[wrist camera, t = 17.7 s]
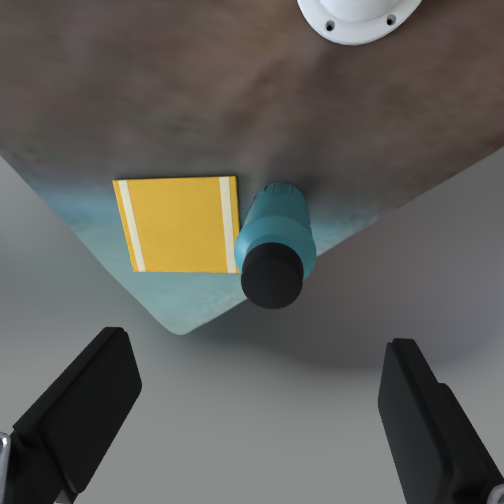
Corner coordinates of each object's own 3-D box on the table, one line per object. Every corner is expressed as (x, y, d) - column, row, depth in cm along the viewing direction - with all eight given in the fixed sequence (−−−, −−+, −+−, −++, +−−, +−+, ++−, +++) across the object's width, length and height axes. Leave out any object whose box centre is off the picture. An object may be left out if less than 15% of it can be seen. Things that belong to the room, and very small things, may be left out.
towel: (236, 175, 35) (235, 176, 34) (242, 271, 40) (242, 273, 40) (114, 179, 37) (112, 180, 37) (135, 269, 42) (133, 271, 42)
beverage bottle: (268, 168, 34) (241, 214, 16) (317, 193, 35) (346, 266, 16) (245, 215, 37) (201, 301, 19) (292, 238, 37) (292, 343, 19)
